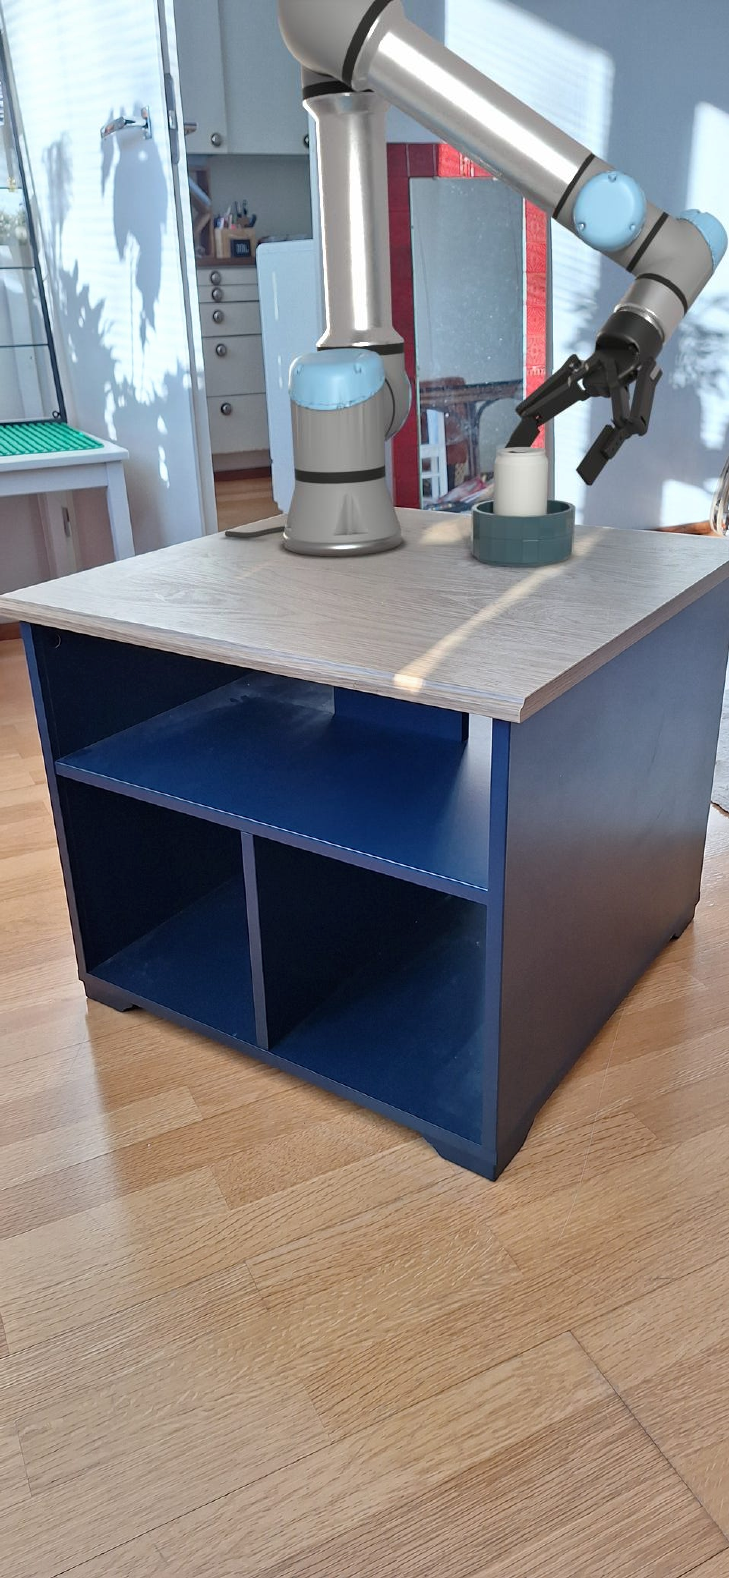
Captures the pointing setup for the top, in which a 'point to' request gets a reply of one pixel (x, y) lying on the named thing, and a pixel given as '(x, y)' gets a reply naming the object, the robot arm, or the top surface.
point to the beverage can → (520, 481)
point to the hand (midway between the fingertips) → (542, 472)
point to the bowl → (523, 535)
